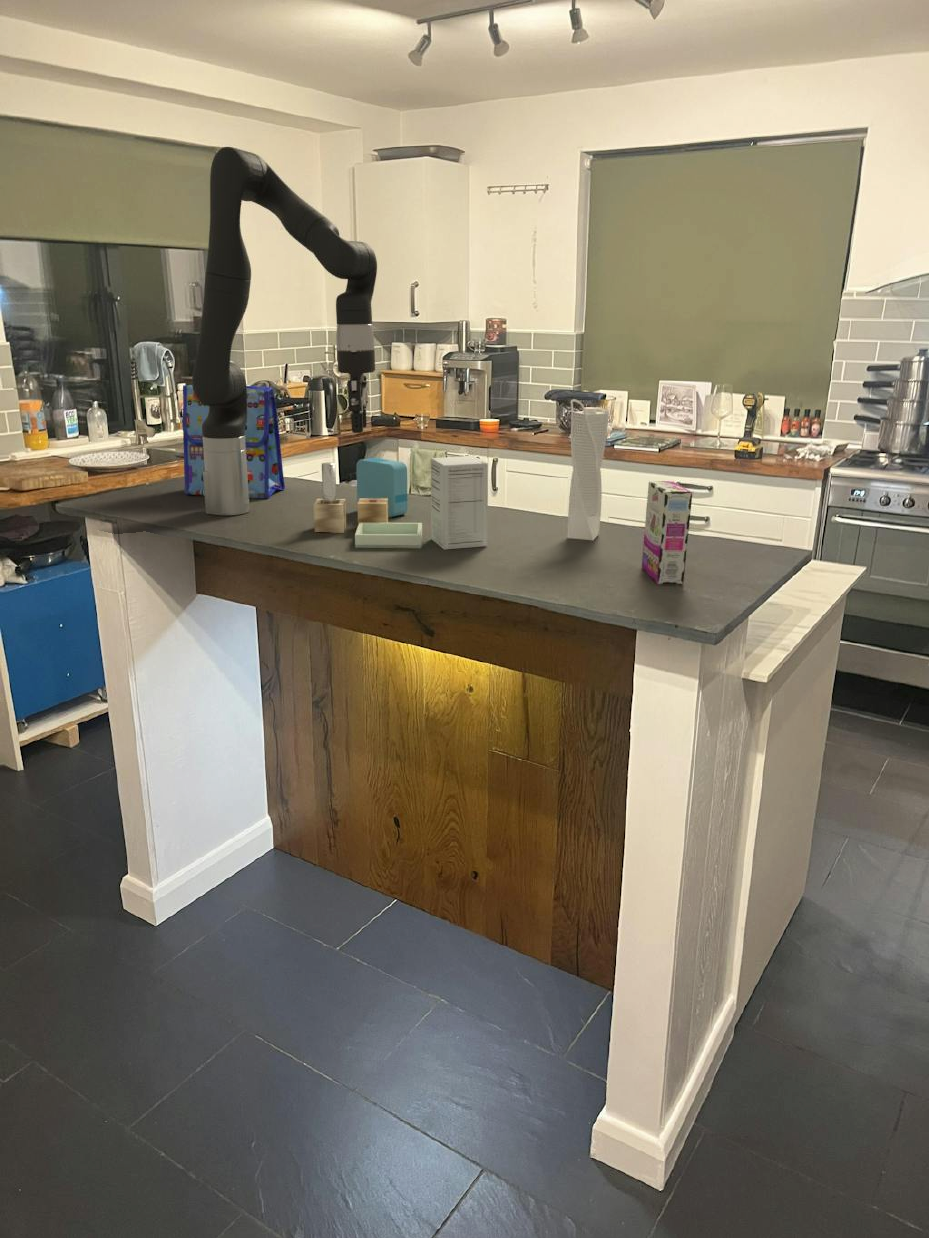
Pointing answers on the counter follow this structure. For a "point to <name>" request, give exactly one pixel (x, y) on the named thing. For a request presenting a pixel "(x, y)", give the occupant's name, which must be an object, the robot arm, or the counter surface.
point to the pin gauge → (329, 483)
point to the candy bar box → (666, 532)
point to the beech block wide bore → (330, 516)
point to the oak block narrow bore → (373, 510)
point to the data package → (383, 483)
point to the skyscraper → (586, 471)
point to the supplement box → (459, 502)
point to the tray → (388, 535)
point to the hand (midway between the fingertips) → (359, 430)
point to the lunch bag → (258, 441)
